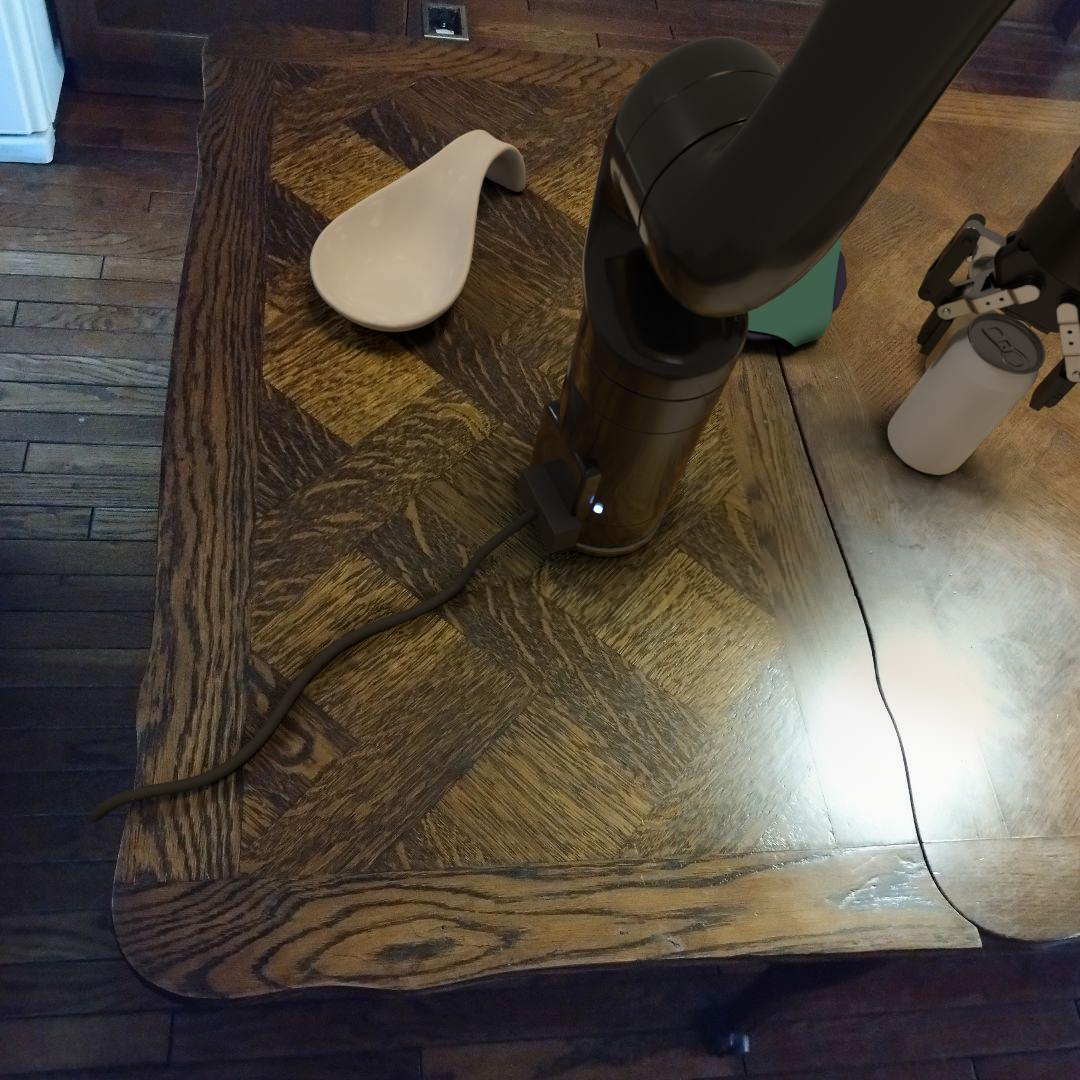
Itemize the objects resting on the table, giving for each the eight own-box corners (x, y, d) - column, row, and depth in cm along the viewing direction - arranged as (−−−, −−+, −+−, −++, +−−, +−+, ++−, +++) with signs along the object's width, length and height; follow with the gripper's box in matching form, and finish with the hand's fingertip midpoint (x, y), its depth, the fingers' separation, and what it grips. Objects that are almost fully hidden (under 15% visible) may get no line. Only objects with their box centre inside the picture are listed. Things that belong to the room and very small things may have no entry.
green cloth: (593, 312, 80) (598, 291, 78) (661, 100, 96) (667, 79, 94) (826, 383, 80) (838, 364, 78) (857, 159, 96) (867, 139, 94)
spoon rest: (412, 379, 74) (415, 311, 68) (281, 309, 76) (273, 237, 69) (558, 207, 86) (572, 137, 80) (443, 150, 88) (448, 77, 82)
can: (914, 486, 76) (999, 387, 66) (869, 422, 79) (944, 317, 68) (978, 466, 78) (1070, 366, 68) (932, 404, 81) (1014, 299, 71)
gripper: (999, 175, 56) (874, 362, 70) (1238, 285, 55) (1062, 455, 68) (1027, 110, 60) (904, 300, 74) (1252, 211, 58) (1082, 386, 72)
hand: (980, 374), depth 71 cm, fingers open, 8 cm apart
